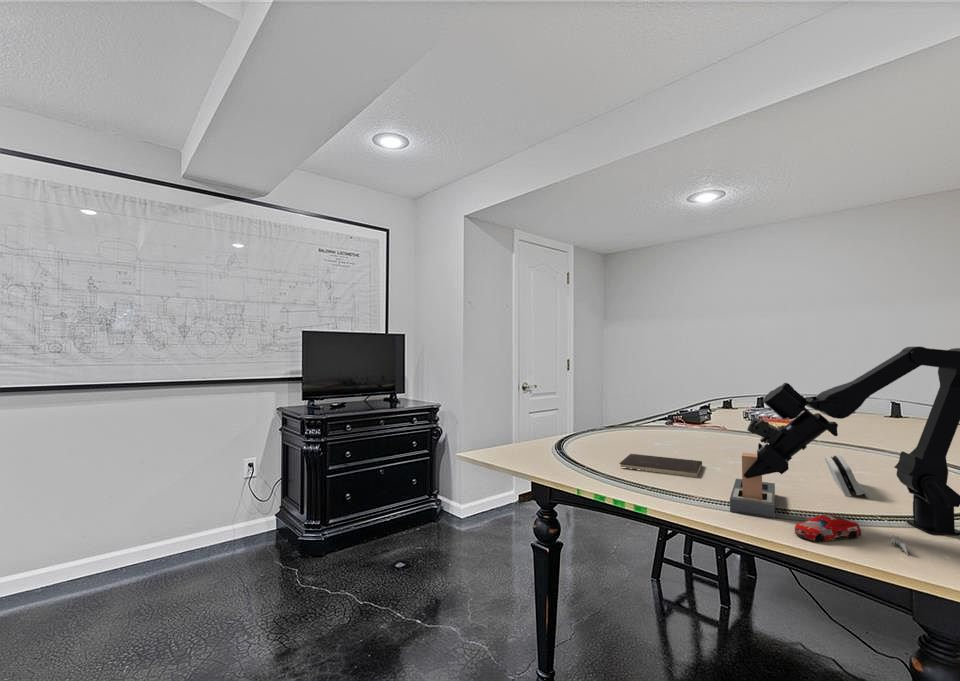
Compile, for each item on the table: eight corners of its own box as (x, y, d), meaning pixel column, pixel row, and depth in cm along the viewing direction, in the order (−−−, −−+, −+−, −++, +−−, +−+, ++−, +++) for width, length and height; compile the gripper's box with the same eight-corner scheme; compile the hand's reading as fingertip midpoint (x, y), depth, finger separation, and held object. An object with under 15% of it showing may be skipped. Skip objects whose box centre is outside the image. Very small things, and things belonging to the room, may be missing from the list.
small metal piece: (921, 559, 86) (920, 544, 86) (905, 558, 87) (905, 542, 87) (904, 545, 92) (904, 530, 92) (889, 544, 92) (889, 529, 92)
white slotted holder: (870, 499, 118) (852, 461, 120) (848, 503, 120) (831, 465, 122) (855, 482, 133) (840, 448, 135) (836, 486, 135) (821, 452, 137)
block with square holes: (774, 518, 106) (774, 504, 106) (730, 511, 111) (729, 497, 111) (775, 494, 123) (774, 482, 123) (736, 489, 128) (736, 477, 128)
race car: (809, 545, 92) (809, 525, 92) (788, 534, 98) (787, 515, 98) (867, 540, 94) (866, 520, 94) (842, 529, 100) (842, 511, 100)
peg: (762, 512, 110) (761, 457, 110) (742, 509, 112) (741, 455, 112) (762, 507, 113) (761, 454, 114) (743, 504, 116) (742, 452, 116)
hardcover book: (696, 479, 139) (696, 472, 140) (619, 470, 151) (619, 463, 151) (702, 467, 153) (702, 460, 153) (630, 459, 165) (630, 453, 165)
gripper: (770, 403, 119) (722, 442, 125) (769, 411, 103) (715, 456, 109) (808, 436, 115) (757, 475, 120) (813, 451, 99) (754, 495, 105)
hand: (745, 474), depth 114 cm, fingers open, 5 cm apart
